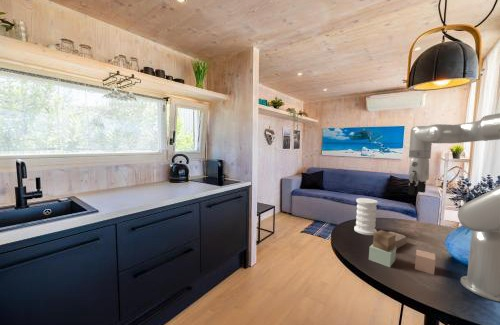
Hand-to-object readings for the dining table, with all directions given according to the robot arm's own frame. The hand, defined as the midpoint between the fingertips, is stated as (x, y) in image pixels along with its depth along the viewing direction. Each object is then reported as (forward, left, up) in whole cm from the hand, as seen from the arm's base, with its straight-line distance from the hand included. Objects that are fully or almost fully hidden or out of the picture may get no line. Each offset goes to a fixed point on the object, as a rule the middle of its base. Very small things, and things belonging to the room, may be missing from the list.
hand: (416, 193), depth 98 cm
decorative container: (+26, -10, -28) cm, 40 cm away
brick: (+10, -3, -29) cm, 31 cm away
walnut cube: (+6, +16, -22) cm, 28 cm away
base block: (+6, +16, -28) cm, 33 cm away
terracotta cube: (-7, +9, -28) cm, 31 cm away
